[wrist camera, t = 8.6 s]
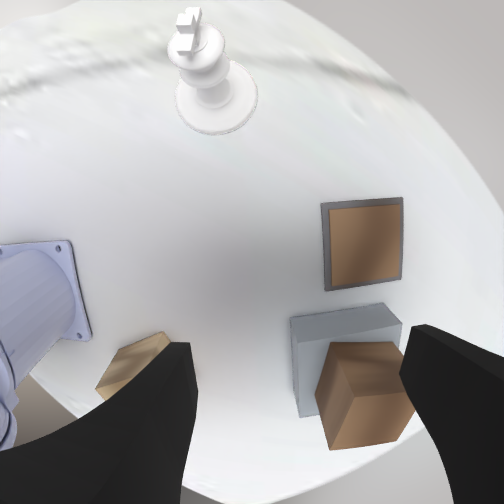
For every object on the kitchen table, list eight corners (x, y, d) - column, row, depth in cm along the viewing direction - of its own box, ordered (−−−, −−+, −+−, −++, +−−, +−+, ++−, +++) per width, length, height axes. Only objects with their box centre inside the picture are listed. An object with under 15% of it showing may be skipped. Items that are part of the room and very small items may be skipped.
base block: (293, 387, 22) (299, 417, 19) (289, 315, 20) (297, 342, 17) (373, 372, 22) (387, 399, 19) (381, 300, 20) (402, 323, 17)
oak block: (151, 389, 22) (136, 432, 17) (119, 348, 20) (95, 389, 16) (195, 374, 21) (186, 421, 16) (163, 330, 20) (144, 373, 15)
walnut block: (314, 394, 18) (329, 450, 13) (330, 341, 17) (354, 397, 12) (372, 392, 18) (396, 441, 13) (392, 341, 17) (427, 388, 12)
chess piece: (262, 64, 15) (280, -32, 5) (252, 138, 16) (262, 101, 7) (182, 59, 15) (128, -29, 5) (170, 132, 16) (90, 98, 7)
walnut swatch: (324, 290, 19) (326, 292, 19) (320, 203, 18) (322, 204, 17) (400, 278, 19) (402, 280, 19) (401, 197, 18) (404, 198, 17)
